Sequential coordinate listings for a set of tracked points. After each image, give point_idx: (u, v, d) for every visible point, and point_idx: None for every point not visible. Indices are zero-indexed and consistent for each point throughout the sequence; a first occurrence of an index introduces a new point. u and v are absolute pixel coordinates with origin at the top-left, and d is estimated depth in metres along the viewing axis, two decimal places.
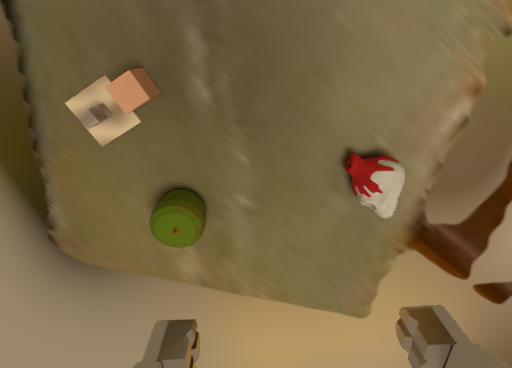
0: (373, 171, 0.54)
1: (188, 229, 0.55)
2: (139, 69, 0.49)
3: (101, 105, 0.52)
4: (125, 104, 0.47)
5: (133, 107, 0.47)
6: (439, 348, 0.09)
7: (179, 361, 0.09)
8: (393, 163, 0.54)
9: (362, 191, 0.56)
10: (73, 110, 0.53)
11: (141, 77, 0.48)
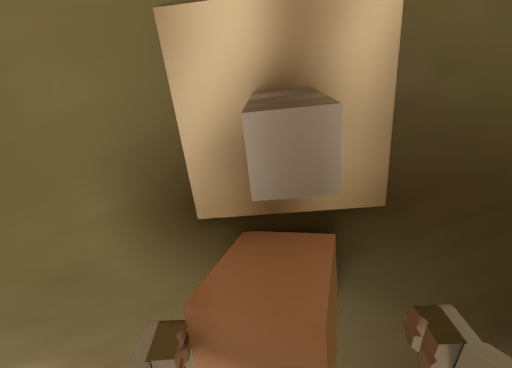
0: None
1: None
2: None
3: None
4: (218, 334, 0.10)
5: (197, 347, 0.11)
6: (450, 347, 0.09)
7: (168, 362, 0.09)
8: None
9: None
10: None
11: None
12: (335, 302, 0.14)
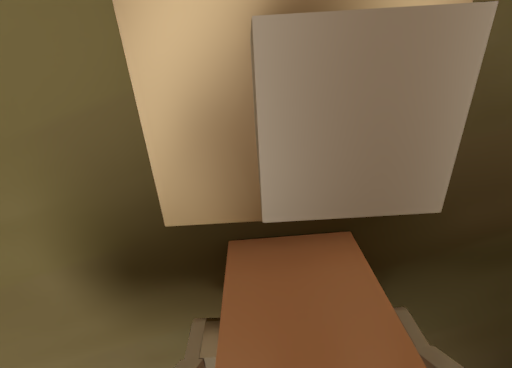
0: None
1: None
2: None
3: None
4: None
5: None
6: None
7: None
8: None
9: None
10: None
11: None
12: None
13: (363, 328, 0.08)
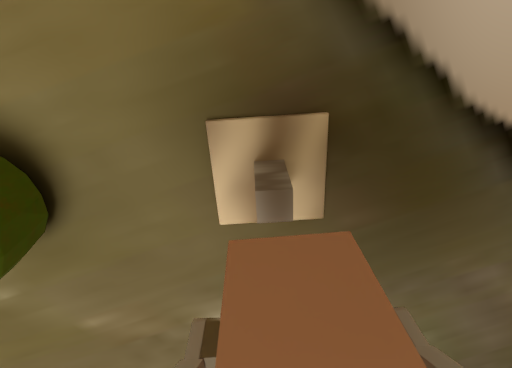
0: None
1: None
2: None
3: None
4: None
5: None
6: None
7: None
8: None
9: None
10: (306, 119, 0.23)
11: None
12: None
13: (363, 327, 0.08)
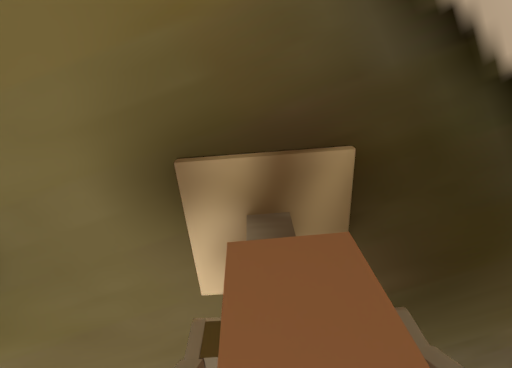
0: None
1: None
2: None
3: None
4: None
5: None
6: None
7: None
8: None
9: None
10: (321, 158, 0.15)
11: None
12: None
13: (365, 328, 0.08)
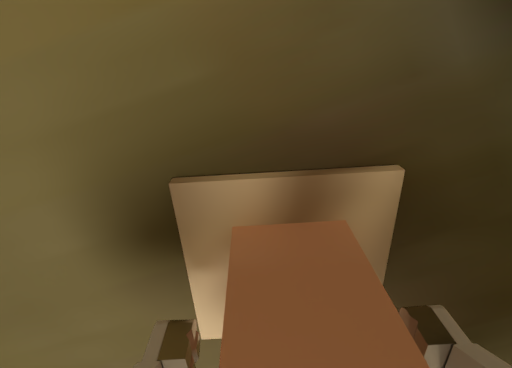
0: None
1: None
2: None
3: None
4: None
5: None
6: (439, 348, 0.09)
7: (179, 361, 0.09)
8: None
9: None
10: (360, 180, 0.12)
11: None
12: None
13: (355, 301, 0.09)
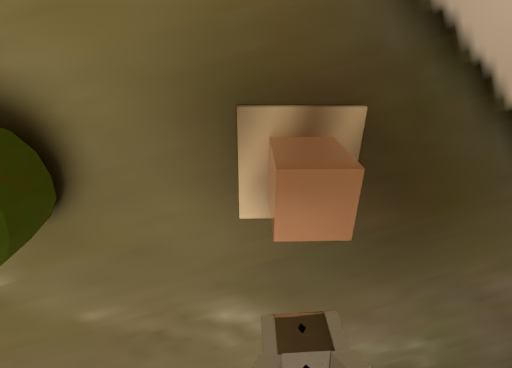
0: None
1: None
2: None
3: None
4: (297, 185, 0.17)
5: (279, 197, 0.17)
6: (318, 355, 0.09)
7: (299, 354, 0.09)
8: None
9: None
10: (343, 112, 0.21)
11: None
12: None
13: (336, 156, 0.18)
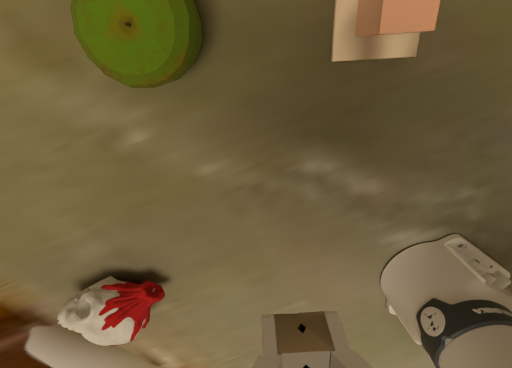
0: (135, 319, 0.43)
1: (120, 58, 0.24)
2: (408, 33, 0.30)
3: None
4: None
5: None
6: (319, 355, 0.09)
7: (299, 354, 0.09)
8: (137, 333, 0.45)
9: (109, 305, 0.42)
10: None
11: (403, 33, 0.29)
12: None
13: None
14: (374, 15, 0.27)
